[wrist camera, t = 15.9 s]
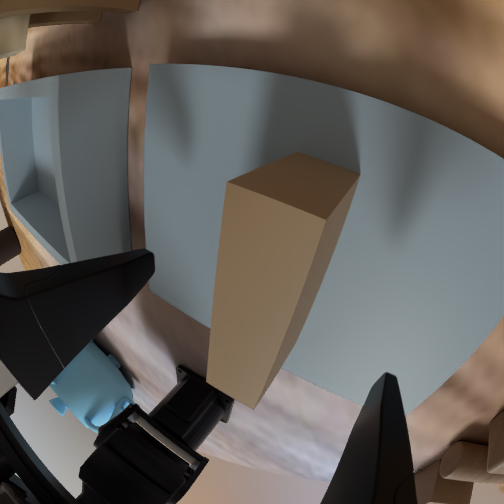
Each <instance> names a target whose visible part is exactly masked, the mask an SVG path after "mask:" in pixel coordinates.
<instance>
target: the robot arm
mask: <svg viewBox="0 0 504 504" xmlns="http://www.w3.org/2000/svg"><path fill="white" fill-rule="evenodd" d="M154 273H155V256H154V253H153V252H151V251H149V250H148V249H139V250H134V251H128V252H123V253H118V254H113V255H107V256H102V257H97V258H92V259H87V260H82V261H77V262H72V263H67V264H63V265H57V266H53V267H47V268H42V269H35V270H28V271H21V272H13V273H0V504H176V503H177V502H178V501H179V500H180V499H181V498H182V497H183V496H184V495H185V494H186V492H187V491H188V490H189V489H190V487H191V486H192V484H193V483H194V482H195V480H196V479H197V477H198V476H199V474H200V473H201V472H202V470H203V469H204V467H205V466H206V464H207V463H208V461H209V459H207V458H206V457H203V456H201V455H200V454H198V453H197V452H196V450H197V449H198V447H199V446H200V445H201V444H202V443H203V441H204V440H205V439H206V437H207V436H208V435H209V434H210V432H211V431H212V430H213V429H214V427H215V426H216V425H217V423H218V422H219V421H222V422H224V423H227V422H228V420H229V417H230V414H231V410H232V407H233V403H234V399H233V398H232V397H230V396H228V395H227V394H225V393H223V392H222V391H220V390H218V389H217V388H215V387H214V386H212V385H210V384H209V383H207V382H206V381H205V380H203V379H202V378H200V377H198V376H197V375H195V374H194V373H192V372H191V371H189V370H188V369H186V368H185V367H183V366H182V365H178V366H177V367H176V374H177V383H178V384H177V385H176V386H175V387H174V388H173V389H172V390H171V391H170V392H169V393H168V394H167V395H166V397H165V398H164V399H163V400H162V401H161V402H160V403H159V404H158V405H157V406H156V407H155V408H154V409H153V410H152V411H151V412H150V413H149V414H147V413H145V412H144V411H143V410H142V409H141V408H140V406H139V405H138V404H132V403H130V404H129V405H128V406H127V407H126V408H125V409H124V410H123V411H122V412H121V413H119V414H118V415H117V416H115V417H114V418H112V419H111V420H110V421H108V422H107V423H105V424H104V425H102V426H101V427H100V428H99V429H98V436H97V438H96V440H95V442H94V444H93V445H94V446H95V447H96V448H97V449H96V450H95V451H94V452H93V453H92V454H91V455H90V457H89V458H88V459H87V460H86V461H85V463H84V464H83V465H82V466H81V467H80V472H79V478H80V479H81V480H82V481H83V482H82V493H81V494H80V495H79V496H78V497H77V498H76V499H75V498H74V497H73V496H72V495H71V494H70V493H69V492H68V491H67V490H66V489H65V488H64V487H63V485H62V484H61V483H60V482H59V481H58V480H57V479H56V478H55V477H54V476H53V474H52V473H51V472H50V471H49V470H48V469H47V467H46V466H45V465H44V464H43V463H42V461H41V460H40V459H39V458H38V456H37V455H36V454H35V452H34V451H33V450H32V449H31V447H30V446H29V445H28V443H27V442H26V440H25V439H24V438H23V436H22V435H21V434H20V432H19V431H18V429H17V428H16V426H15V425H14V423H13V421H12V420H11V418H10V417H9V416H10V415H11V414H13V413H14V407H15V399H16V392H17V388H16V386H15V385H16V384H17V383H19V384H20V385H21V386H22V387H23V388H24V389H25V391H26V392H27V393H28V394H29V395H30V396H31V397H32V398H33V399H34V400H36V399H37V398H38V397H39V396H40V395H41V394H42V392H43V391H44V390H45V389H46V388H47V387H48V386H49V385H50V384H51V383H52V382H53V380H54V379H55V378H56V377H57V376H58V375H59V374H60V373H61V372H62V371H63V370H64V368H65V367H66V366H67V365H68V364H69V363H70V362H71V361H72V360H73V359H74V358H75V357H76V356H77V355H78V354H79V353H80V352H81V351H82V350H83V349H84V348H85V347H86V346H87V345H88V344H89V343H90V342H91V341H92V340H93V338H94V337H95V336H96V335H97V334H98V333H99V332H100V331H101V330H102V329H103V328H104V327H105V326H106V325H107V324H108V323H109V322H110V321H111V320H112V319H114V318H115V317H116V316H117V315H118V314H119V313H120V312H121V311H122V310H123V309H124V308H125V307H126V306H127V305H128V304H129V303H130V302H131V301H132V299H133V298H134V297H135V296H136V295H137V294H138V292H139V291H140V290H141V289H142V288H143V287H144V285H145V284H146V283H147V282H148V281H149V280H150V278H151V277H152V276H153V275H154ZM135 421H137V422H138V423H139V424H140V425H142V426H143V427H144V428H145V429H146V430H148V431H149V432H150V433H151V434H152V435H154V436H155V437H156V438H157V439H158V440H160V441H161V442H162V443H164V444H165V445H166V446H167V447H169V448H170V449H172V450H173V451H174V452H176V453H177V454H178V455H180V456H181V457H182V458H184V459H185V460H187V461H188V462H190V463H191V465H190V467H189V463H187V462H186V461H185V460H183V459H182V458H180V457H179V456H178V455H176V454H175V453H173V452H172V451H171V450H169V449H168V448H167V447H166V446H164V445H163V444H162V443H160V442H159V441H158V440H156V439H155V438H154V437H153V436H151V435H150V434H149V433H148V432H147V431H145V430H144V429H143V428H142V427H141V426H139V425H138V424H137V423H136V422H135ZM413 471H414V469H413V461H412V454H411V447H410V440H409V434H408V428H407V423H406V417H405V412H404V407H403V402H402V397H401V393H400V388H399V384H398V379H397V377H396V376H395V375H393V374H391V373H389V372H385V373H383V375H382V376H381V377H380V378H379V379H378V380H377V381H376V382H375V383H374V384H373V386H372V387H371V389H370V391H369V394H368V396H367V398H366V401H365V403H364V405H363V407H362V409H361V412H360V414H359V416H358V418H357V420H356V422H355V424H354V426H353V429H352V431H351V434H350V436H349V439H348V442H347V444H346V447H345V449H344V452H343V454H342V457H341V459H340V462H339V464H338V467H337V469H336V471H335V474H334V476H333V478H332V480H331V482H330V485H329V487H328V489H327V492H326V493H325V495H324V497H323V499H322V501H321V503H320V504H418V501H417V495H416V486H415V477H414V473H413ZM15 473H17V475H18V476H19V477H20V478H19V477H18V476H16V475H15Z"/></svg>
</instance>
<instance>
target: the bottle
mask: <svg viewBox="0 0 504 504" xmlns="http://www.w3.org/2000/svg"><path fill="white" fill-rule="evenodd" d="M20 253H21V247H20V243H19V241H18V238H17V235H16V233H15V231H14V229H13V228H12V226H8V227H7V228H5V229H3V230H1V231H0V266H1V265H2V264H4V263H5V262H7V261H9V260H10V259H12V258H14V257H15V256H17V255H19V254H20Z"/></svg>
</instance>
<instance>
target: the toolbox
mask: <svg viewBox="0 0 504 504" xmlns="http://www.w3.org/2000/svg"><path fill="white" fill-rule="evenodd" d="M139 3H140V0H0V18H6V17H12V16H18V15H25V14H30V19H29V25H28V28H31V27H39V26H48V25H60V24H83V23H95V22H98V21H101V16H102V11H104V12H120V13H129V12H133V11H137V10H138V8H139ZM131 70H132V68H116V69H103V70H92V71H83V72H76V73H69V74H62V75H56V76H50V77H45V78H40V79H35V80H31V81H26V82H22V83H18V84H14V85H10V86H7V87H3V88H0V154H1V162H2V168H3V175H4V181H5V186H6V191H7V196H8V201H9V205H10V210H11V211H12V212H13V213H14V215H15V216H16V217H17V218H18V219H19V220H20V222H21V223H22V224H23V225H24V226H25V227H26V228H27V230H28V231H29V232H30V233H31V234H32V235H33V236H34V237H35V238H36V239H37V240H38V242H39V243H40V244H41V245H42V246H43V247H44V248H45V249H46V250H47V251H48V252H49V253H50V254H51V255H52V256H53V257H54V258H55V259H56V260H57V261H58V262H59V263H60V264H61V265H63V264H67V263H72V262H77V261H82V260H87V259H92V258H97V257H102V256H107V255H113V254H118V253H123V252H128V251H132V245H131V233H130V220H129V203H128V176H127V136H128V109H129V93H130V81H131Z"/></svg>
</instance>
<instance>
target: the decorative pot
mask: <svg viewBox="0 0 504 504" xmlns="http://www.w3.org/2000/svg"><path fill="white" fill-rule="evenodd" d="M119 367H121V366H120V363H119V362H118V361H117V359H116V358H115V357H114V356H113V355H111V354H109V355H108V356H106V355H105V354H104V353H103V352H102V351H101V350H100V349H99V348H98V347H97V345H96V343H95V342H94V340H92V341H91V342H90V343H89V344H88V345H87V346H86V347H85V348H84V349H83V350H82V351H81V352H80V353H79V354H78V355H77V356H76V357H75V358H74V359H73V360H72V361H71V362H70V363H69V364H68V365H67V366H66V367H65V368H64V370H63V371H62V372H61V373H60V374H59V375H58V376H57V377H56V378H55V379H54V380H53V382H52V383H51V384H50V385H49V386H50V387H51V388H52V389H53V391H54V392H55V393H56V394H57V396H58V397H57V398H54V399H51V400H49V401H50V403H51V405H52V406H53V407H54V409H55V410H56V411H57V412H58V413H59V414H60V415H61V416H63V415H64V414H65V411H66V409H67V407H68V408H69V410H70V411H71V412H72V413H73V414H74V415H75V416H76V417H77V418H78V419H79V420H80V422H82V424H84V426H85V427H86V428H90V429H91V430H92V431H94V432H96V433H98V429H99V428H100V427H97V426H100V425H104V424H105V423H107V422H108V421H110V420H111V419H112V418H114V417H115V416H117V415H118V414H119V413H121V412H122V411H123V410H124V409H125V408H126V407H127V406H128V405H129V404H130V403H132V404H135V403H134V401H133V393H132V391H131V389H130V388H131V386H130V384H129V383H128V382H127V381H126V380H125V378H124V376H123V375H122V373H121V372H120V371H119V369H118V368H119Z"/></svg>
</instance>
